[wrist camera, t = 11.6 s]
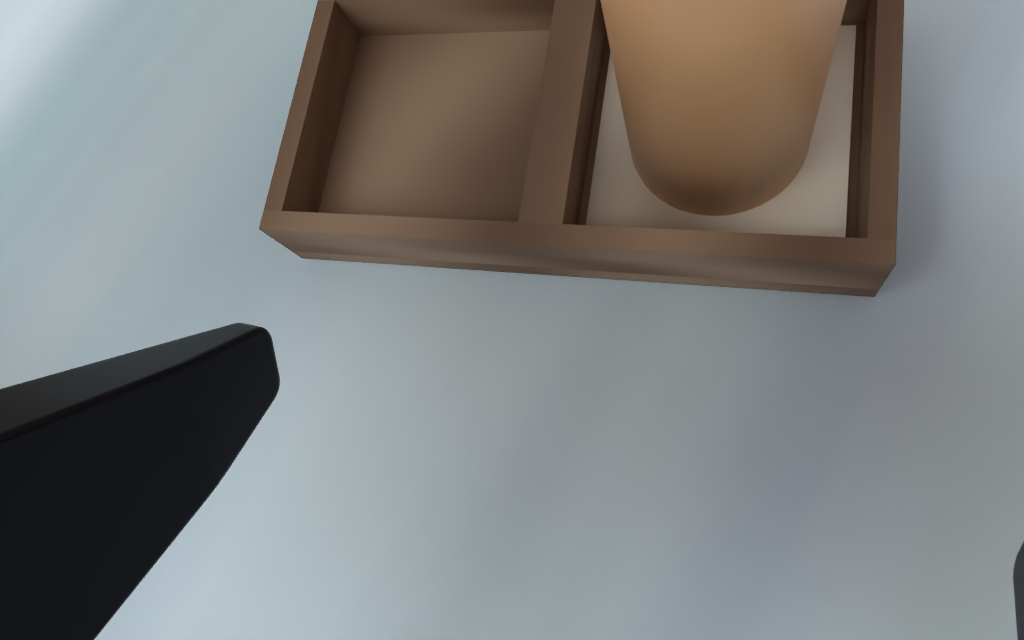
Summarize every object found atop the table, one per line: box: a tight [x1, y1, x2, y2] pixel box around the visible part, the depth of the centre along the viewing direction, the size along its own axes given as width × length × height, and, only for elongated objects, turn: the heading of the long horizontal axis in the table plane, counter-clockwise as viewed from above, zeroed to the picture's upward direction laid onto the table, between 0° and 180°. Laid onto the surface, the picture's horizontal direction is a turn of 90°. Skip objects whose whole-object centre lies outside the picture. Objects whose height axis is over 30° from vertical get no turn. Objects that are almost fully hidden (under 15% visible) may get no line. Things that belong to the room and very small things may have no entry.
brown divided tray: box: [259, 0, 904, 297], centre depth 18 cm, size 14×7×2 cm, turn 81°
